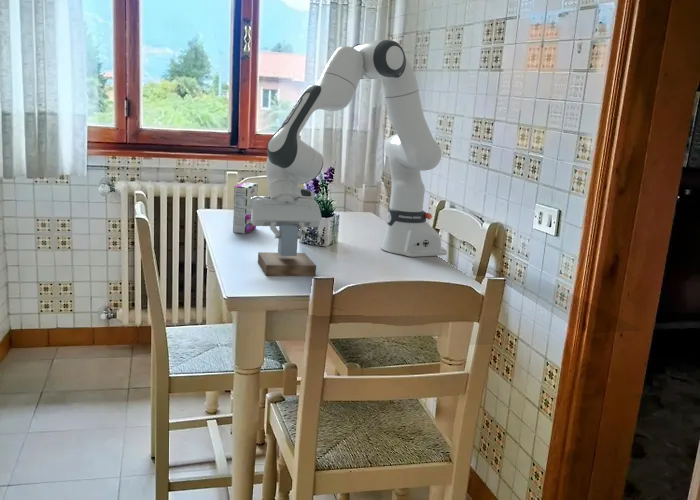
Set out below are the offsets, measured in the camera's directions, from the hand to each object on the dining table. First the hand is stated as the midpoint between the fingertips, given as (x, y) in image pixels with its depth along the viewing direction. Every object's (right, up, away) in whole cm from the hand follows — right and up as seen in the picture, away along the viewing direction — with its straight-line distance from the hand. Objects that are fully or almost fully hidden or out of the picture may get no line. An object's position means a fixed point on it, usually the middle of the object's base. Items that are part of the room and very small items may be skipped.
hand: (288, 237), depth 188 cm
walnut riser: (-1, -9, +3) cm, 9 cm away
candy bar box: (-20, +3, +47) cm, 51 cm away
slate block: (-1, -5, +2) cm, 5 cm away
